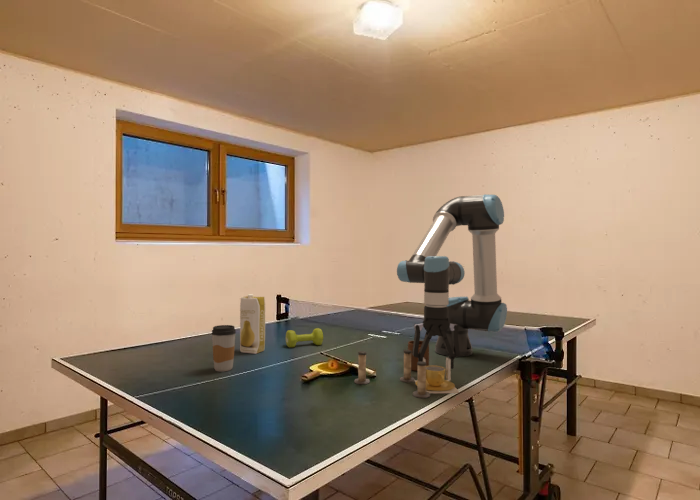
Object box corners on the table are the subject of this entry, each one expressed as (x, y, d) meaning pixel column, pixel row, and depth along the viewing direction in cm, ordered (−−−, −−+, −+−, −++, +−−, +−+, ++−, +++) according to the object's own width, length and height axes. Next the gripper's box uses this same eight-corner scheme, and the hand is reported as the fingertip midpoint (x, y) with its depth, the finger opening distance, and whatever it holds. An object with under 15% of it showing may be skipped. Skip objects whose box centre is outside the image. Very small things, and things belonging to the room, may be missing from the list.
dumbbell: (319, 342, 197) (319, 326, 197) (324, 346, 190) (325, 330, 190) (284, 345, 190) (284, 329, 190) (288, 349, 183) (288, 332, 183)
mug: (433, 375, 146) (434, 347, 146) (411, 375, 146) (411, 347, 146) (426, 365, 158) (426, 340, 158) (406, 365, 158) (406, 340, 158)
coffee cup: (240, 367, 154) (240, 325, 154) (226, 373, 146) (226, 329, 146) (220, 365, 157) (221, 324, 157) (206, 371, 149) (206, 328, 149)
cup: (408, 381, 137) (408, 364, 137) (442, 378, 140) (442, 362, 140) (427, 393, 125) (427, 375, 125) (462, 389, 129) (462, 371, 129)
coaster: (448, 381, 139) (448, 379, 139) (458, 393, 128) (458, 391, 128) (414, 382, 138) (414, 380, 138) (422, 393, 127) (422, 391, 127)
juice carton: (237, 352, 176) (237, 294, 176) (248, 348, 183) (249, 292, 183) (256, 354, 172) (256, 295, 172) (267, 350, 180) (267, 293, 180)
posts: (417, 377, 143) (418, 349, 143) (431, 398, 123) (432, 364, 123) (353, 378, 142) (353, 349, 142) (357, 398, 122) (357, 365, 122)
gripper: (464, 304, 137) (463, 375, 137) (402, 304, 136) (401, 375, 136) (472, 307, 130) (471, 382, 130) (406, 307, 129) (405, 383, 129)
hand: (435, 379), depth 133 cm, fingers open, 7 cm apart
